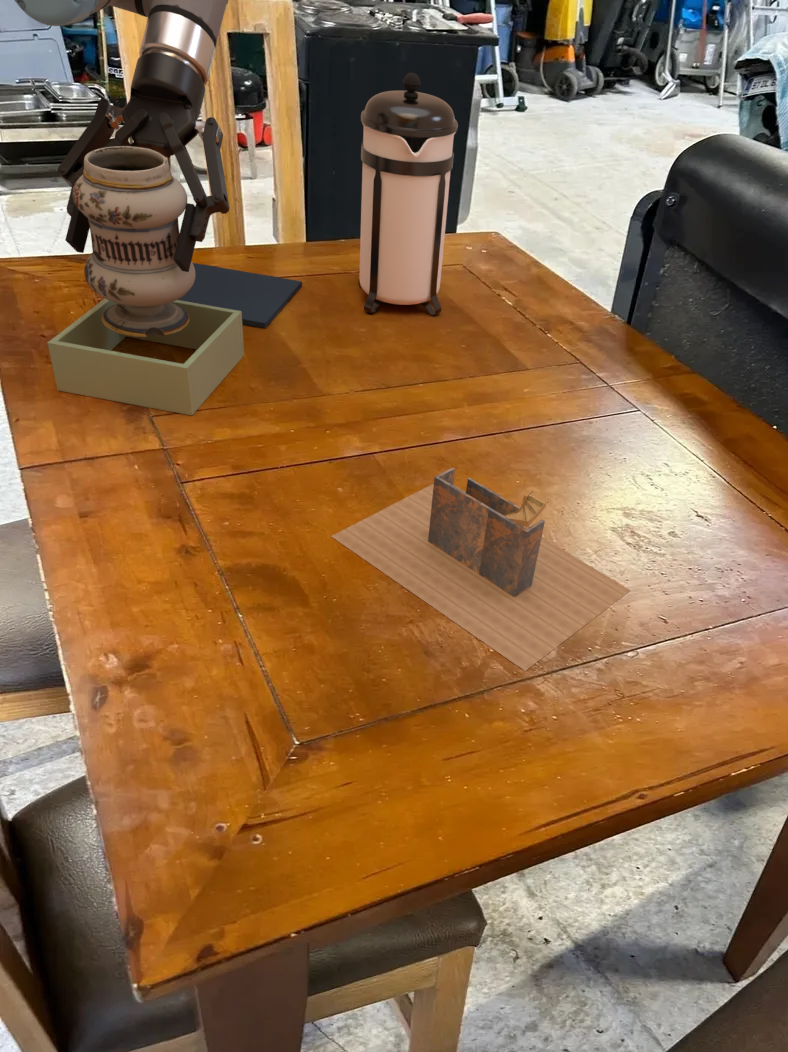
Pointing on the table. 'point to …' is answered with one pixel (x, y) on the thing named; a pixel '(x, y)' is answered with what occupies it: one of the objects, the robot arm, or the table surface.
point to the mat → (242, 292)
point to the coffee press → (404, 196)
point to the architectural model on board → (484, 566)
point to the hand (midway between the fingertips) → (127, 256)
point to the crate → (148, 360)
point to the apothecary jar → (134, 239)
